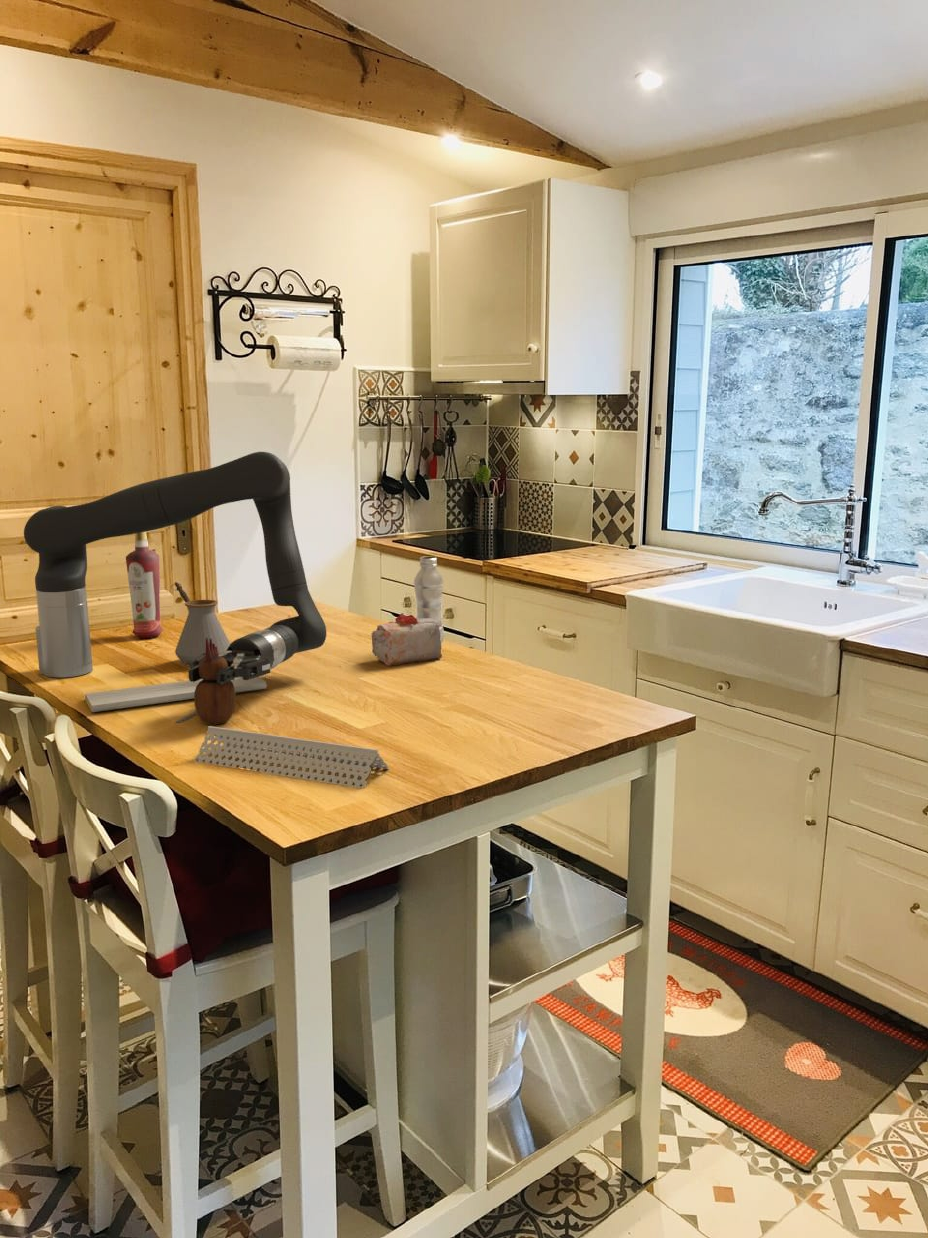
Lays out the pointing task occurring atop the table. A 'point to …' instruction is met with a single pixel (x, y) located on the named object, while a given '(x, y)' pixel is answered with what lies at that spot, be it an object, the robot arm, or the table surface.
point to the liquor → (144, 588)
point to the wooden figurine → (213, 689)
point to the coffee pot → (199, 629)
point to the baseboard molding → (158, 694)
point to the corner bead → (290, 755)
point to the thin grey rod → (188, 716)
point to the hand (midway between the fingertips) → (204, 677)
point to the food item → (407, 640)
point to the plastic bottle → (429, 592)
